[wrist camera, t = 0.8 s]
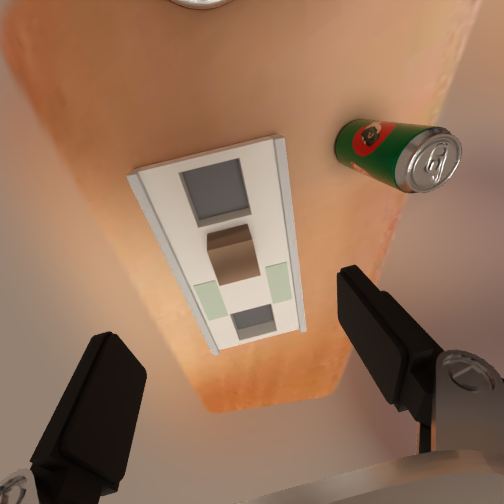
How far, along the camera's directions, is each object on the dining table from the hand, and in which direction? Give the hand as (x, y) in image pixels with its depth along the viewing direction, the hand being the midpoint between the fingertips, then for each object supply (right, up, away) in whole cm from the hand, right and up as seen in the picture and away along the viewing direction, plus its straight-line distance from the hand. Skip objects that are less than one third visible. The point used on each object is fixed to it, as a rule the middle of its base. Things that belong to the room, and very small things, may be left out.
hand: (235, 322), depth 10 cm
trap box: (-1, +2, +24) cm, 24 cm away
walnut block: (-2, +4, +20) cm, 20 cm away
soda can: (+13, +16, +18) cm, 27 cm away
